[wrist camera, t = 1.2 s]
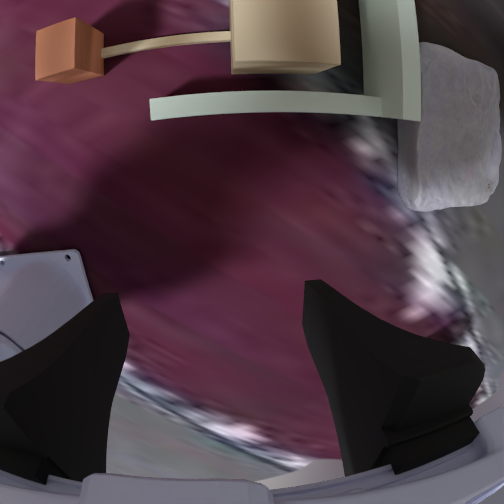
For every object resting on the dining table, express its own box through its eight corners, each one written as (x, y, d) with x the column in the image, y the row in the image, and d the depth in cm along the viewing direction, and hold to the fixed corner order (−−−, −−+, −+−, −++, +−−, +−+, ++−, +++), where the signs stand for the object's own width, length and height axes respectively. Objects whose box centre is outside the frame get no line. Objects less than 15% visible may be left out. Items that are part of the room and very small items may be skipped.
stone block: (463, 62, 18) (379, 41, 16) (507, 65, 14) (430, 34, 12) (461, 189, 24) (383, 203, 22) (501, 207, 20) (429, 227, 18)
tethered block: (71, 98, 16) (31, 97, 12) (70, 30, 14) (33, 14, 9) (312, 75, 17) (340, 64, 13) (309, 5, 15) (334, -22, 11)
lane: (159, 119, 18) (139, 121, 13) (157, -21, 13) (140, -54, 9) (379, 116, 19) (420, 121, 14) (372, -14, 14) (407, -37, 10)
